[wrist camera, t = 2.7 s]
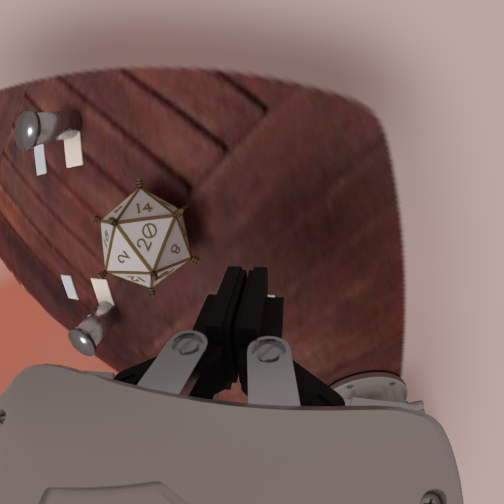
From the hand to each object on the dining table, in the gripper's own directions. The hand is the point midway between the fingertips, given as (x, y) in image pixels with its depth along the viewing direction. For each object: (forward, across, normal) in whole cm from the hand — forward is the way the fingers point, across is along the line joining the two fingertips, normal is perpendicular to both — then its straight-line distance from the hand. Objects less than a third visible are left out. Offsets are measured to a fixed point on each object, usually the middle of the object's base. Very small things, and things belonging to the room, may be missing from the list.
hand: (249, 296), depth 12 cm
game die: (+12, +10, +1) cm, 16 cm away
